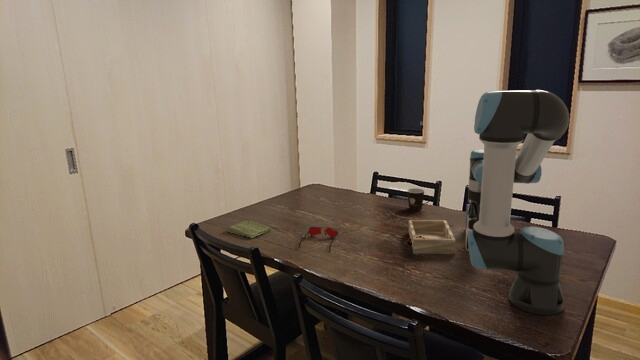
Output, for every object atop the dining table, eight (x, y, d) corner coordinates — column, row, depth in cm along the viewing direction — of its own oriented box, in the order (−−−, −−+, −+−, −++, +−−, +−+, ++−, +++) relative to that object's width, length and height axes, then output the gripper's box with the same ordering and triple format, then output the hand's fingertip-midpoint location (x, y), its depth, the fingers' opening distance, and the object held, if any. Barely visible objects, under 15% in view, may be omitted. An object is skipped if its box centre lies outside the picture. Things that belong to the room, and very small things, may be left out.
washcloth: (252, 241, 188) (252, 234, 187) (225, 233, 198) (225, 226, 197) (272, 231, 198) (272, 225, 197) (246, 224, 208) (245, 218, 207)
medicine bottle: (465, 251, 169) (467, 222, 166) (465, 244, 175) (466, 216, 172) (485, 252, 167) (487, 224, 163) (483, 245, 173) (485, 217, 170)
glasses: (339, 238, 187) (338, 227, 186) (329, 253, 172) (329, 242, 171) (309, 235, 191) (308, 225, 190) (297, 250, 176) (296, 239, 175)
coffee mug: (403, 208, 222) (403, 189, 219) (417, 205, 225) (417, 187, 222) (417, 214, 211) (417, 195, 209) (431, 211, 215) (431, 192, 212)
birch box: (454, 254, 166) (455, 240, 165) (413, 253, 168) (413, 239, 167) (445, 232, 187) (445, 220, 186) (408, 232, 189) (408, 220, 188)
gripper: (497, 199, 152) (493, 253, 158) (480, 180, 176) (477, 228, 182) (476, 199, 153) (472, 253, 159) (462, 180, 177) (459, 228, 183)
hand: (475, 240), depth 170 cm, fingers open, 13 cm apart
